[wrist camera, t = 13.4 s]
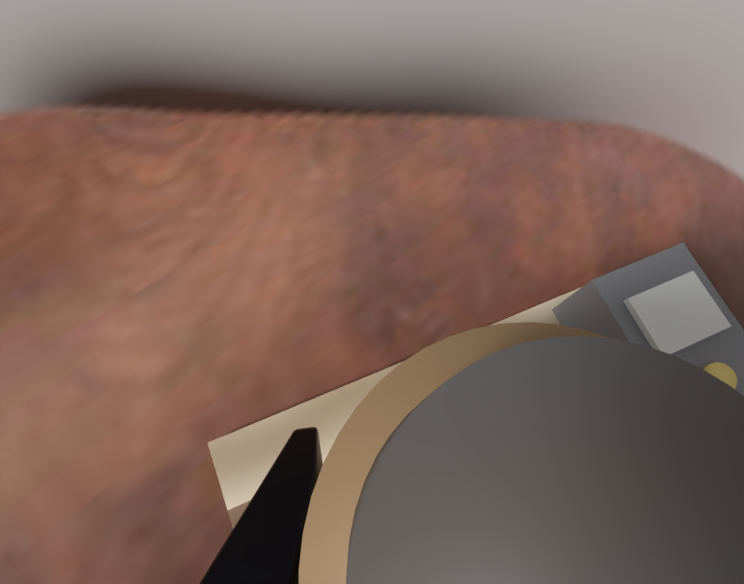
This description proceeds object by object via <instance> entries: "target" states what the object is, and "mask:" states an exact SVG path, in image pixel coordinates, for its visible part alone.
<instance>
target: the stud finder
mask: <svg viewBox="0 0 744 584" xmlns="http://www.w3.org/2000/svg"><path fill="white" fill-rule="evenodd" d="M552 311H553V313H554V314H555V316H556V318H557V320H558V321H559V323H560V325H564V326H568V327H573V328H578V329H583V330H587V331H590V332H593V333H596V334H599V335H602V336H605V337H608V338H613V339H617V340H622V341H627V342H632V343H636V344H641V345H644V346H647V347H650V348H653V349H656V350H659V351H662V352H665V353H668V354H671V355H674V356H676V357H678V358H680V359H682V360H684V361H686V362H689V363H691V364H693V365H695V366H697V367H699V368H701V369H703V370H705V371H706V372H708V373H710V374H711V375H713V376H715V377H716V378H718V379H720V380H721V381H723V382H725V383H726V384H728V385H730V386H731V387H732V388H734V389H735V390H736V391H738V392H739V393H740V394H742V395H743V396H744V330H743V328H742V327H741V325H740V324H739V322H738V321H737V319H736V318H735V317H734V315H733V314H732V312H731V311H730V309H729V308H728V306H727V305H726V304H725V302H724V301H723V299H722V298H721V296H720V295H719V293H718V292H717V290H716V289H715V288H714V286H713V285H712V283H711V282H710V280H709V279H708V277H707V276H706V275H705V273H704V272H703V270H702V269H701V267H700V266H699V264H698V263H697V262H696V260H695V259H694V257H693V256H692V254H691V253H690V251H689V250H688V248H687V247H686V246H685V244H684V243H680V244H678V245H676V246H673V247H671V248H668V249H666V250H663V251H661V252H659V253H656V254H654V255H651V256H649V257H646V258H644V259H642V260H639V261H637V262H634V263H632V264H629V265H627V266H625V267H622V268H620V269H617V270H615V271H612V272H610V273H608V274H605V275H603V276H600V277H598V278H595V279H593V280H591V281H590V282H589V283H587V284H586V285H584V286H583V287H582V288H580V289H579V290H578V291H576V292H575V293H574V294H572V295H571V296H569V297H568V298H567V299H565V300H564V301H563V302H561V303H560V304H559V305H557V306H556V307H554V308H553V309H552Z"/></svg>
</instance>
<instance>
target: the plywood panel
mask: <svg viewBox="0 0 744 584" xmlns="http://www.w3.org/2000/svg"><path fill="white" fill-rule="evenodd" d="M581 288H582V287H581ZM579 289H580V288H578V289H576V290H573V291H571V292H569V293H566V294H564V295H561V296H559V297H557V298H554V299H552V300H549V301H547V302H545V303H542V304H540V305H537V306H535V307H533V308H530V309H528V310H525V311H523V312H521V313H518V314H516V315H513V316H511V317H509V318H506V319H504V320H501V321H499V322H497V323H494V324H492V325H496V324H502V323H522V322H535V323H547V324H559V325H560V323H559V321H558V320H557V318H556V316H555V314H554V313H553V311H552V309H553V308H554V307H556V306H557V305H559V304H560V303H561V302H563V301H564V300H565V299H567V298H568V297H569V296H571V295H572V294H574V293H575V292H576V291H578V290H579ZM489 326H491V325H489ZM403 362H404V361H403ZM401 363H402V362H401ZM401 363H398V364H396V365H393V366H391V367H388V368H386V369H384V370H381V371H379V372H376V373H374V374H372V375H369V376H367V377H364V378H362V379H360V380H357V381H355V382H352V383H350V384H348V385H345V386H343V387H340V388H338V389H336V390H333V391H331V392H328V393H326V394H324V395H321V396H319V397H316V398H314V399H312V400H309V401H307V402H304V403H302V404H300V405H297V406H295V407H292V408H290V409H288V410H285V411H283V412H280V413H278V414H276V415H273V416H271V417H268V418H266V419H264V420H261V421H259V422H256V423H254V424H252V425H249V426H247V427H244V428H242V429H240V430H237V431H235V432H232V433H230V434H228V435H225V436H223V437H220V438H218V439H216V440H213V441H211V442H208V445H209V449H210V452H211V456H212V459H213V462H214V466H215V469H216V473H217V476H218V479H219V483H220V486H221V489H222V493H223V496H224V500H225V503H226V506H227V510H228V513H229V517H230V520H231V523H232V527H233V528H234V527H235V525H236V523H237V522H238V520H239V519H240V517H241V515H242V514H243V512H244V511H245V509H246V507H247V506H248V504H249V502H250V501H251V499H252V498H253V496H254V494H255V493H256V491H257V489H258V488H259V486H260V485H261V483H262V481H263V480H264V478H265V476H266V475H267V473H268V472H269V470H270V468H271V467H272V465H273V463H274V462H275V460H276V459H277V457H278V455H279V454H280V452H281V450H282V449H283V447H284V446H285V444H286V442H287V441H288V439H289V438H290V436H291V434H292V433H293V431H294V430H296V429H300V428H309V427H316V428H317V429H318V433H319V440H320V447H321V455H322V462H323V463H324V461H325V459H326V457H327V455H328V453H329V451H330V449H331V447H332V445H333V443H334V441H335V439H336V437H337V435H338V433H339V432H340V430H341V429H342V427H343V426H344V424H345V423H346V422H347V420H348V419H349V417H350V416H351V414H352V413H353V411H354V410H355V408H356V407H357V406H358V405H359V403H360V402H361V401H362V400H363V399H364V398H365V397H366V396H367V394H368V393H369V392H370V391H371V390H372V389H373V388H374V386H375V385H376V384H377V383H378V382H380V381H381V380H382V379H383V378H384V377H385V376H387V375H388V374H389V373H390V372H391V371H392V370H393V369H395V368H396V367H397V366H398V365H399V364H401Z"/></svg>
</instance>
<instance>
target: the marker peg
mask: <svg viewBox="0 0 744 584" xmlns="http://www.w3.org/2000/svg"><path fill="white" fill-rule="evenodd" d="M299 584H744V396H743V395H742V394H740V393H739V392H738V391H736V390H735V389H734V388H732V387H731V386H730V385H728V384H726V383H725V382H723V381H721V380H720V379H718V378H716V377H715V376H713V375H711V374H710V373H708V372H706V371H705V370H703V369H701V368H699V367H697V366H695V365H693V364H691V363H689V362H686V361H684V360H682V359H680V358H678V357H676V356H674V355H671V354H668V353H665V352H662V351H659V350H656V349H653V348H650V347H647V346H644V345H641V344H636V343H632V342H627V341H622V340H617V339H613V338H608V337H605V336H602V335H599V334H596V333H593V332H590V331H587V330H583V329H578V328H573V327H568V326H564V325H559V324H547V323H535V322H522V323H502V324H496V325H491V326H485V327H479V328H474V329H471V330H468V331H465V332H462V333H459V334H456V335H452V336H449V337H447V338H445V339H443V340H441V341H439V342H436V343H434V344H432V345H430V346H428V347H426V348H424V349H422V350H421V351H419V352H418V353H416V354H415V355H413V356H411V357H410V358H408V359H407V360H405V361H404V362H402V363H401V364H399V365H398V366H397V367H396V368H395V369H393V370H392V371H391V372H390V373H389V374H388V375H387V376H385V377H384V378H383V379H382V380H381V381H380V382H378V383H377V384H376V385H375V386H374V388H373V389H372V390H371V391H370V392H369V393H368V394H367V396H366V397H365V398H364V399H363V400H362V401H361V402H360V403H359V405H358V406H357V407H356V408H355V410H354V411H353V413H352V414H351V416H350V417H349V419H348V420H347V422H346V423H345V424H344V426H343V427H342V429H341V430H340V432H339V433H338V435H337V437H336V439H335V441H334V443H333V445H332V447H331V449H330V451H329V453H328V455H327V457H326V459H325V461H324V463H323V465H322V468H321V471H320V474H319V476H318V479H317V482H316V485H315V487H314V490H313V493H312V496H311V500H310V504H309V508H308V513H307V517H306V521H305V526H304V530H303V536H302V545H301V554H300V563H299Z"/></svg>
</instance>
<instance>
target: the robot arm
mask: <svg viewBox="0 0 744 584" xmlns="http://www.w3.org/2000/svg"><path fill="white" fill-rule="evenodd" d="M322 465H323V462H322V455H321V447H320V440H319V433H318V429H317V428H316V427H309V428H300V429H296V430H294V431H293V433H292V434H291V436H290V438H289V439H288V441H287V442H286V444H285V446H284V447H283V449H282V450H281V452H280V454H279V455H278V457H277V459H276V460H275V462H274V463H273V465H272V467H271V468H270V470H269V472H268V473H267V475H266V476H265V478H264V480H263V481H262V483H261V485H260V486H259V488H258V489H257V491H256V493H255V494H254V496H253V498H252V499H251V501H250V502H249V504H248V506H247V507H246V509H245V511H244V512H243V514H242V515H241V517H240V519H239V520H238V522H237V523H236V525H235V527H234V528H233V530H232V532H231V533H230V535H229V536H228V538H227V540H226V541H225V543H224V545H223V546H222V548H221V549H220V551H219V553H218V554H217V556H216V558H215V559H214V561H213V562H212V564H211V566H210V567H209V569H208V571H207V572H206V574H205V575H204V577H203V579H202V580H201V582H200V584H299V563H300V554H301V545H302V536H303V530H304V526H305V521H306V517H307V513H308V508H309V504H310V500H311V496H312V493H313V490H314V487H315V485H316V482H317V479H318V476H319V474H320V471H321V468H322Z"/></svg>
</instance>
